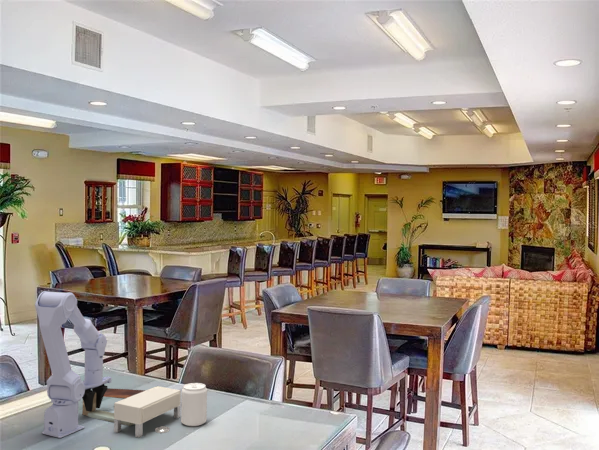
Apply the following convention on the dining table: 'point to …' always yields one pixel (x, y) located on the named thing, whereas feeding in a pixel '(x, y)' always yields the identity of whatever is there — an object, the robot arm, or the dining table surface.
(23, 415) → the dining table surface
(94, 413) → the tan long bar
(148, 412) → the cream toy bench
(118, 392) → the wooden tablet
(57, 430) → the robot arm
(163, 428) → the steel token
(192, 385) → the beverage can
